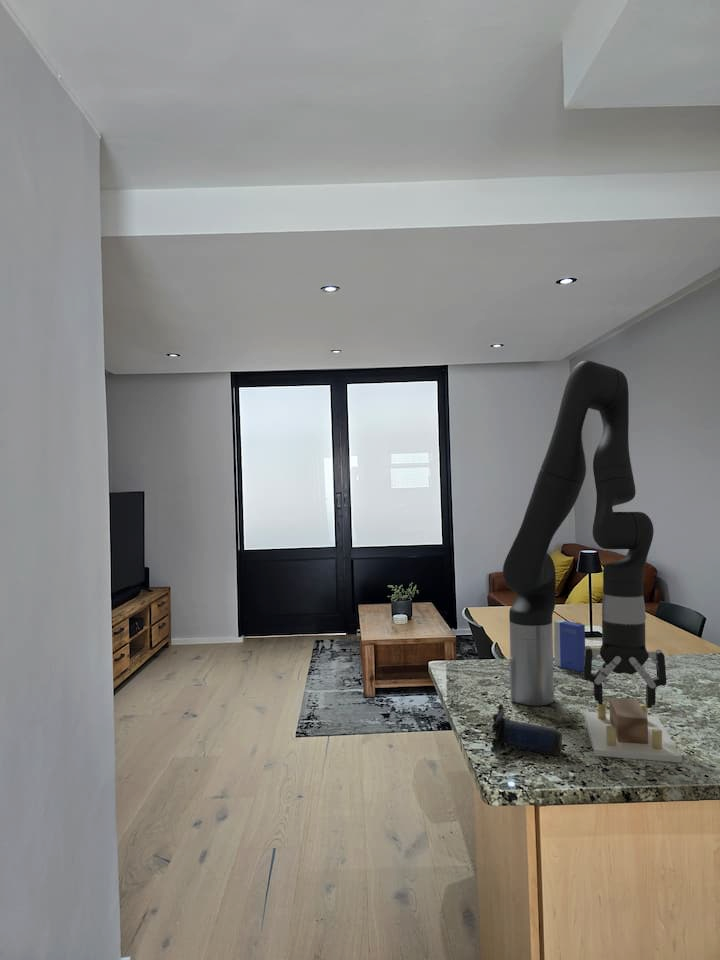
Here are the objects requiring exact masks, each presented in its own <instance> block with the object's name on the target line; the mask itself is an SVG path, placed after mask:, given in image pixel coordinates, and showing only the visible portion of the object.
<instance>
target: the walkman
mask: <svg viewBox="0 0 720 960" xmlns="http://www.w3.org/2000/svg"><path fill="white" fill-rule="evenodd" d="M553 626H554V627H553V628H554V629H553V630H554V631H553V632H554V633H553V642H554V643H553V645H554V646H553V653H554V666H556V667H560V668H562V669H566V668H567V670H570V671H575V672H577V671H578V673H579V672H583V671H584V653H585V647H586V626H585V624H582V622H579V621H576V622H573V621H567V620H562V619H560V620H554V621H553Z"/></svg>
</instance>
